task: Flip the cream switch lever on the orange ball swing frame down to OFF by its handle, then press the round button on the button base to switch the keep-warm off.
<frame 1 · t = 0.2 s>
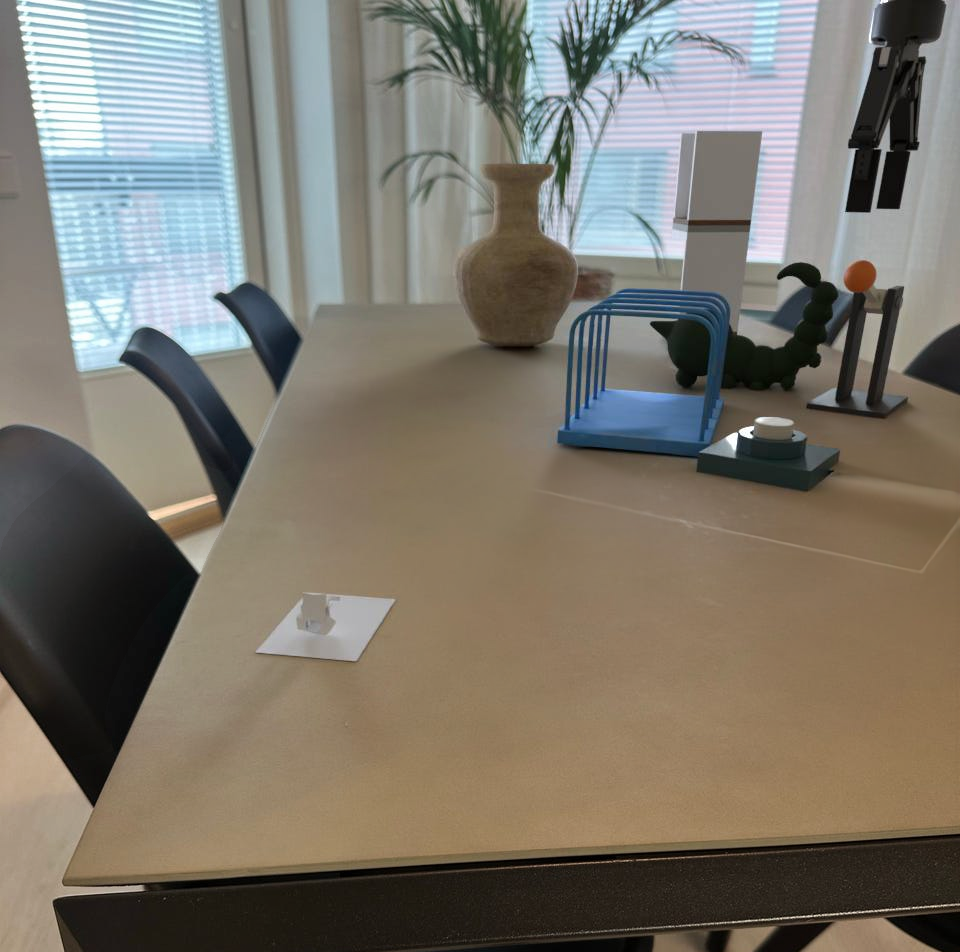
hand: (873, 211, 111), 24 cm above the table, tool pointing down, fingers open, 13 cm apart
button base: (767, 470, 98), on the table
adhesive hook: (329, 626, 65), on the table
file sorter: (645, 429, 115), on the table
warm button: (773, 429, 96), point 4 cm above the table, slide at 0.1 cm
display case: (698, 339, 177), on the table
vase: (514, 346, 170), on the table
orange ball swing frame: (856, 411, 123), on the table
switch lever: (868, 289, 112), point 16 cm above the table, hinge at 20.0°
toy figurine: (730, 391, 135), on the table
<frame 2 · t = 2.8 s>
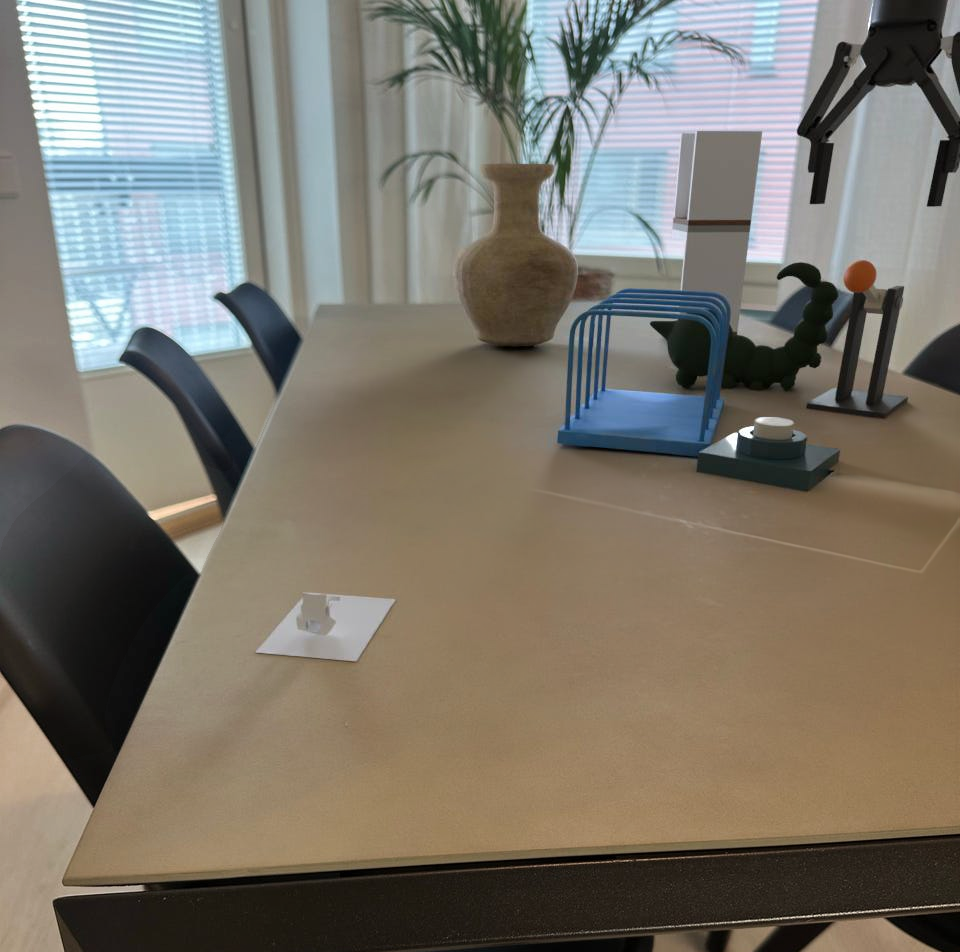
hand: (873, 205, 106), 25 cm above the table, tool pointing down, fingers open, 13 cm apart
nothing on the table moved.
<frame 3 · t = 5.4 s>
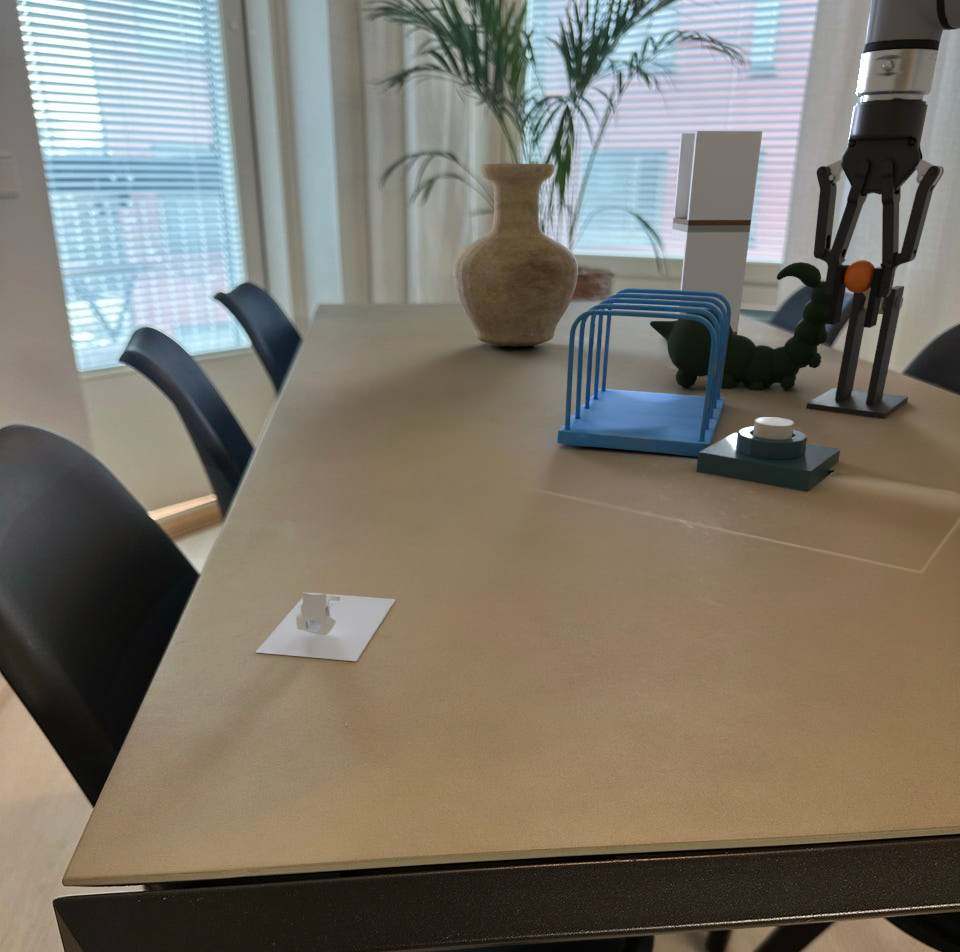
hand: (851, 324, 110), 12 cm above the table, tool pointing down, fingers closed on switch lever, 4 cm apart
switch lever: (868, 289, 112), point 16 cm above the table, hinge at 20.0°, touching gripper
everything else where it was.
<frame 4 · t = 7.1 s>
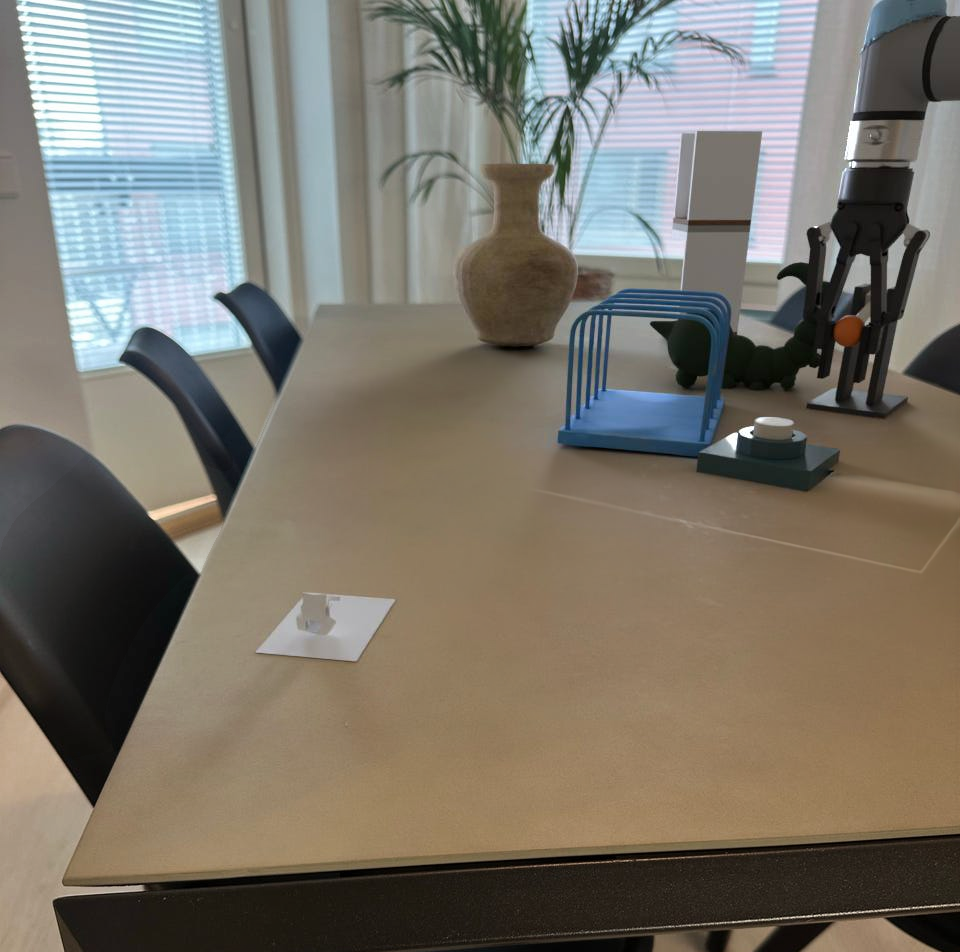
hand: (840, 378, 113), 6 cm above the table, tool pointing down, fingers closed on switch lever, 4 cm apart
switch lever: (862, 316, 113), point 13 cm above the table, hinge at -12.4°, touching gripper
everything else where it was.
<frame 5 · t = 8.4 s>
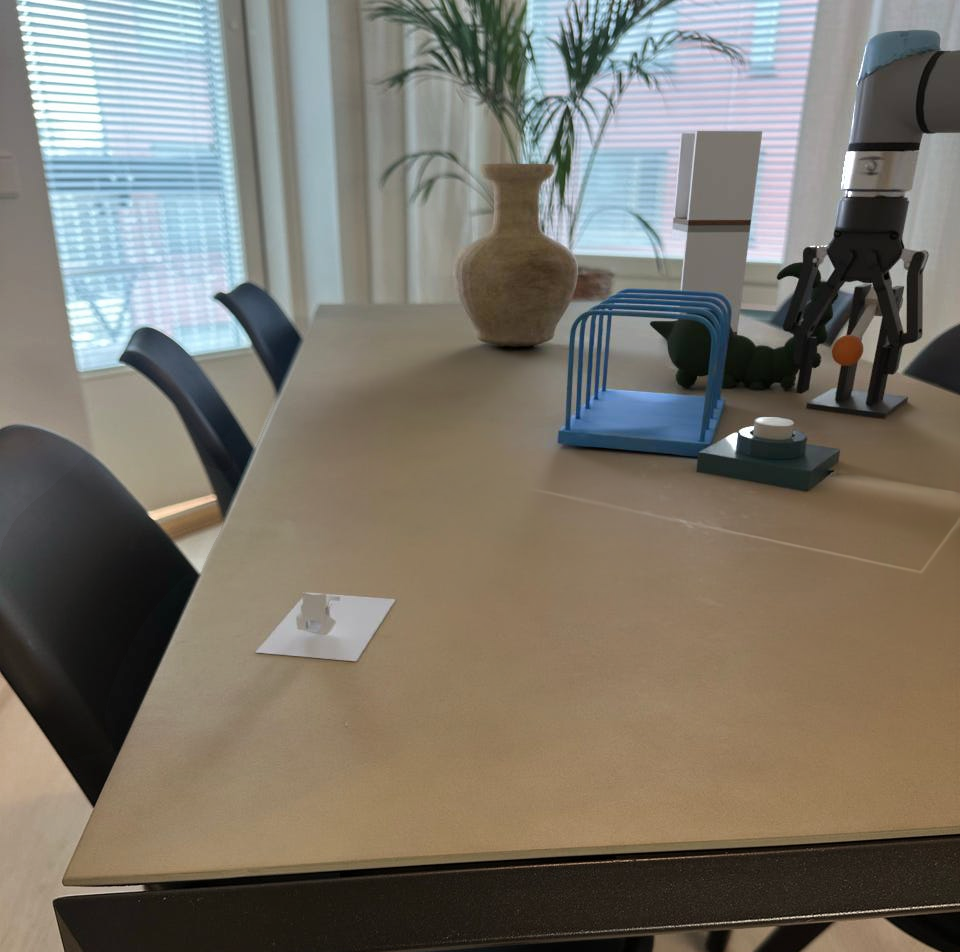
hand: (838, 395, 114), 4 cm above the table, tool pointing down, fingers open, 8 cm apart
switch lever: (862, 326, 114), point 12 cm above the table, hinge at -25.4°
everything else where it was.
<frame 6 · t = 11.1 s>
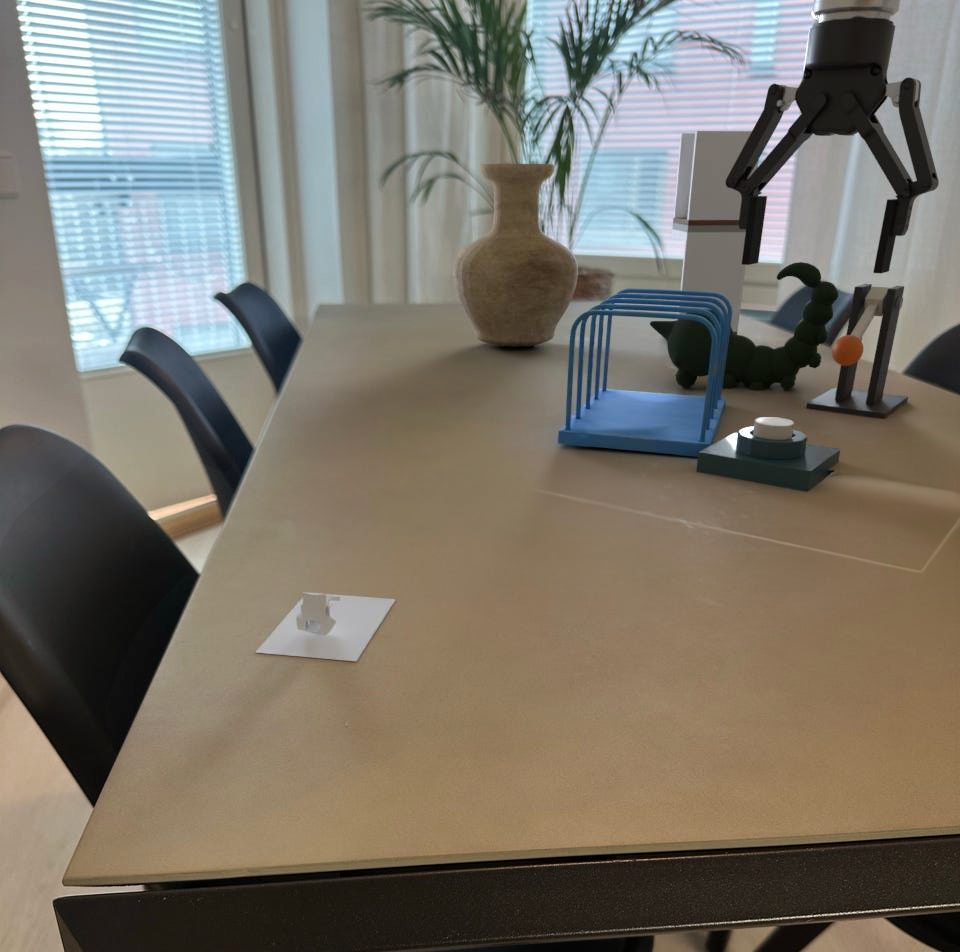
hand: (812, 268, 94), 20 cm above the table, tool pointing down, fingers open, 13 cm apart
nothing on the table moved.
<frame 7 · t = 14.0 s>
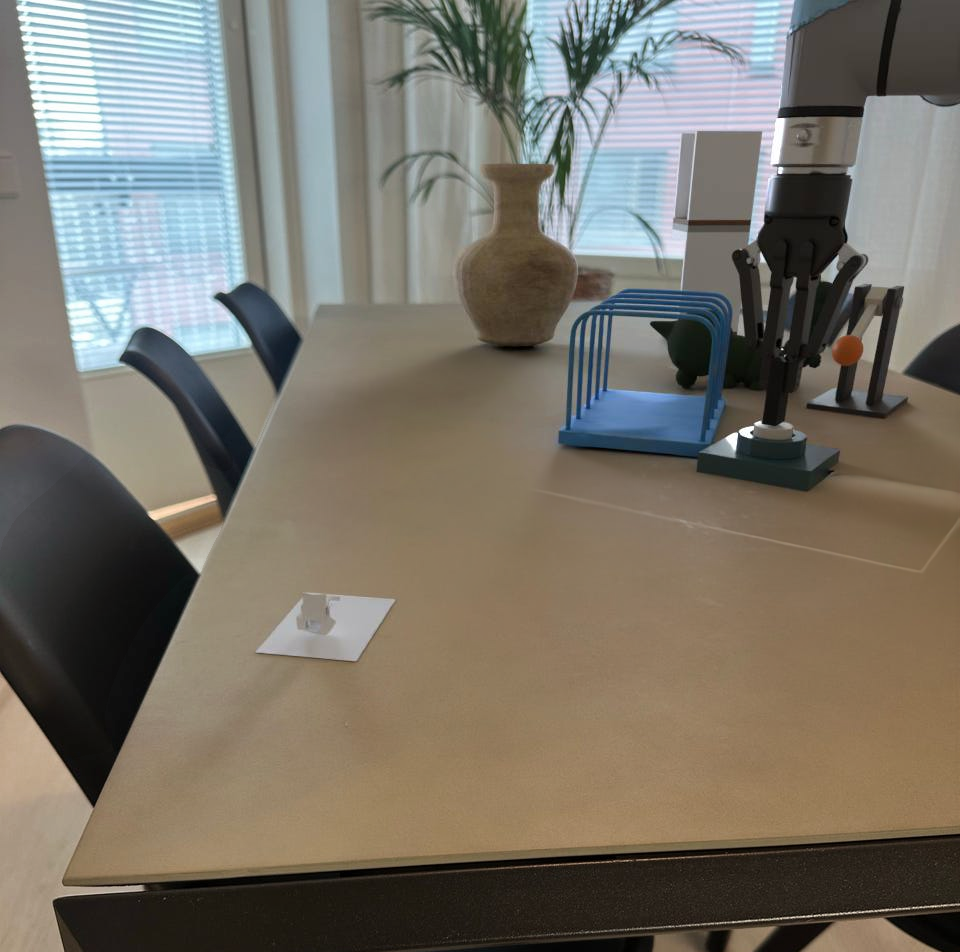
hand: (773, 422, 96), 5 cm above the table, tool pointing down, fingers closed
warm button: (772, 433, 97), point 4 cm above the table, slide at -0.3 cm, touching gripper
everything else where it was.
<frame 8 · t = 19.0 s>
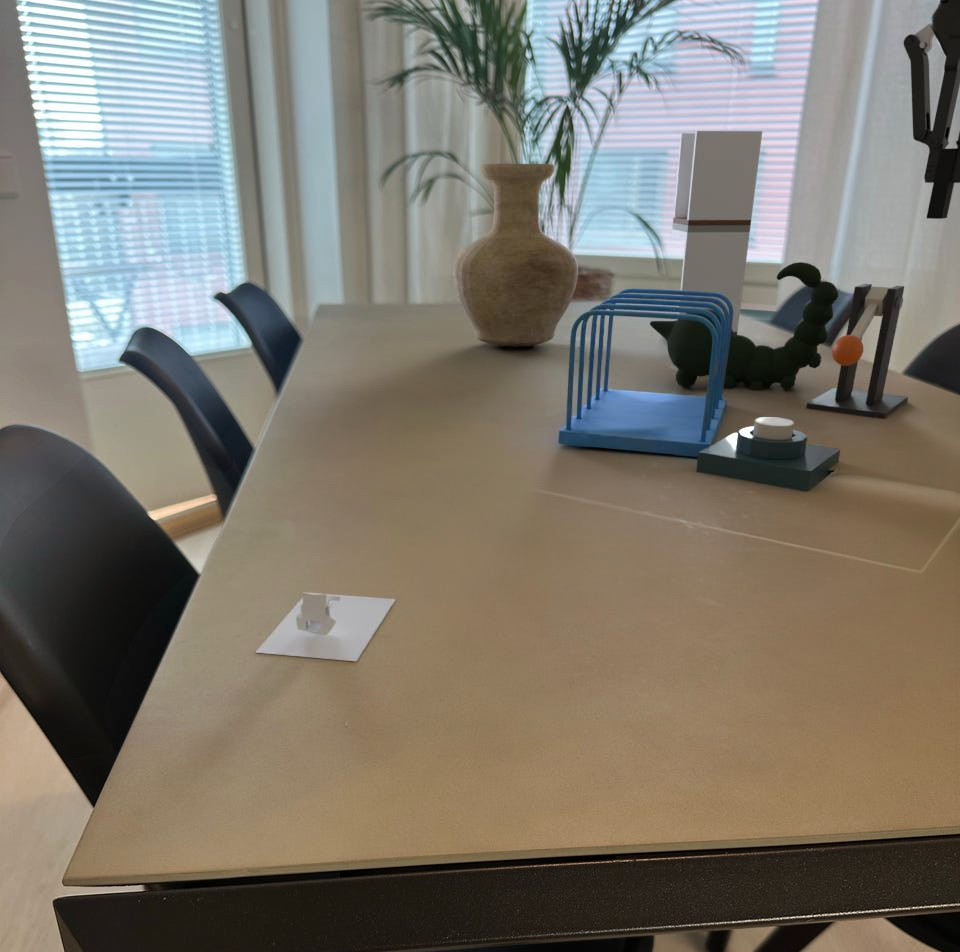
hand: (936, 217, 97), 24 cm above the table, tool pointing down, fingers closed
warm button: (773, 429, 96), point 4 cm above the table, slide at 0.1 cm
everything else where it was.
at the end: switch lever at -25° (first picture: +20°); warm button pushed in 1.0 cm at the most during the clip, back to where it started at the end; warm button slide at 0.1 cm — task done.
